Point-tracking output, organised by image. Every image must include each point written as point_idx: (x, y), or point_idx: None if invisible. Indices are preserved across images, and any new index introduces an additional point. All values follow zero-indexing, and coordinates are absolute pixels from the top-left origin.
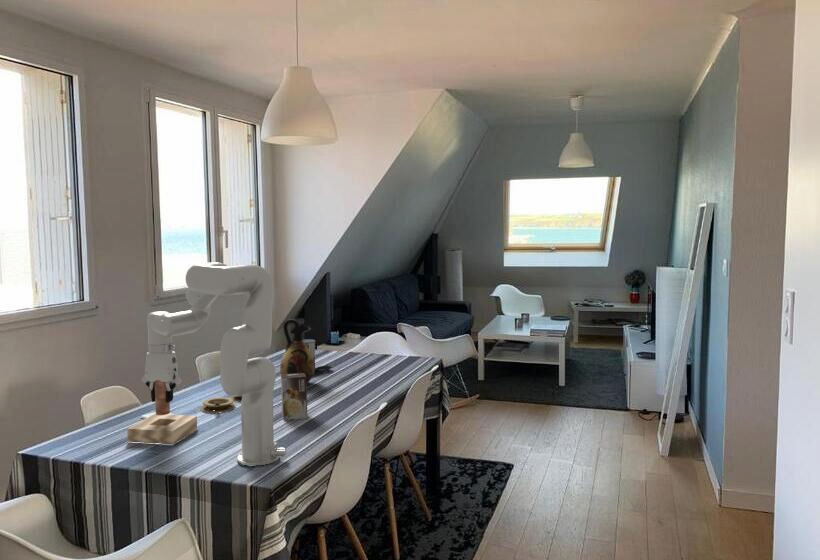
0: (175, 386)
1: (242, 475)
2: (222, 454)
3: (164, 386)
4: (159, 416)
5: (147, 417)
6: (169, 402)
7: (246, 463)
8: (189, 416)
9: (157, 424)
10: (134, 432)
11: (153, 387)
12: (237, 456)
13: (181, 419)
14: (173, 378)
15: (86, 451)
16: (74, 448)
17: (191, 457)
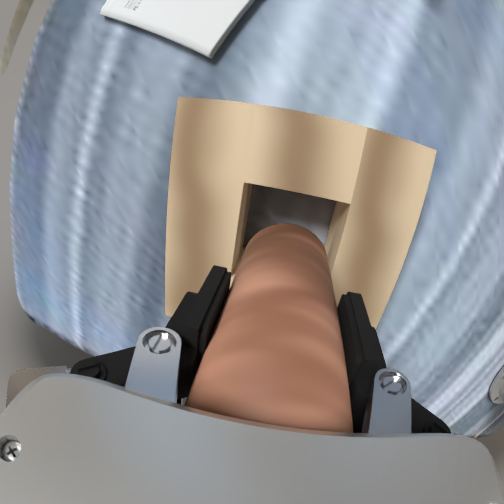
0: (422, 417)
1: (479, 420)
2: (476, 360)
3: None
4: (225, 144)
5: (126, 19)
6: (334, 294)
7: (496, 403)
8: (402, 153)
9: (244, 199)
10: None
11: (178, 396)
12: (495, 385)
13: (373, 204)
14: (425, 442)
15: (115, 327)
16: (77, 303)
17: (413, 380)
